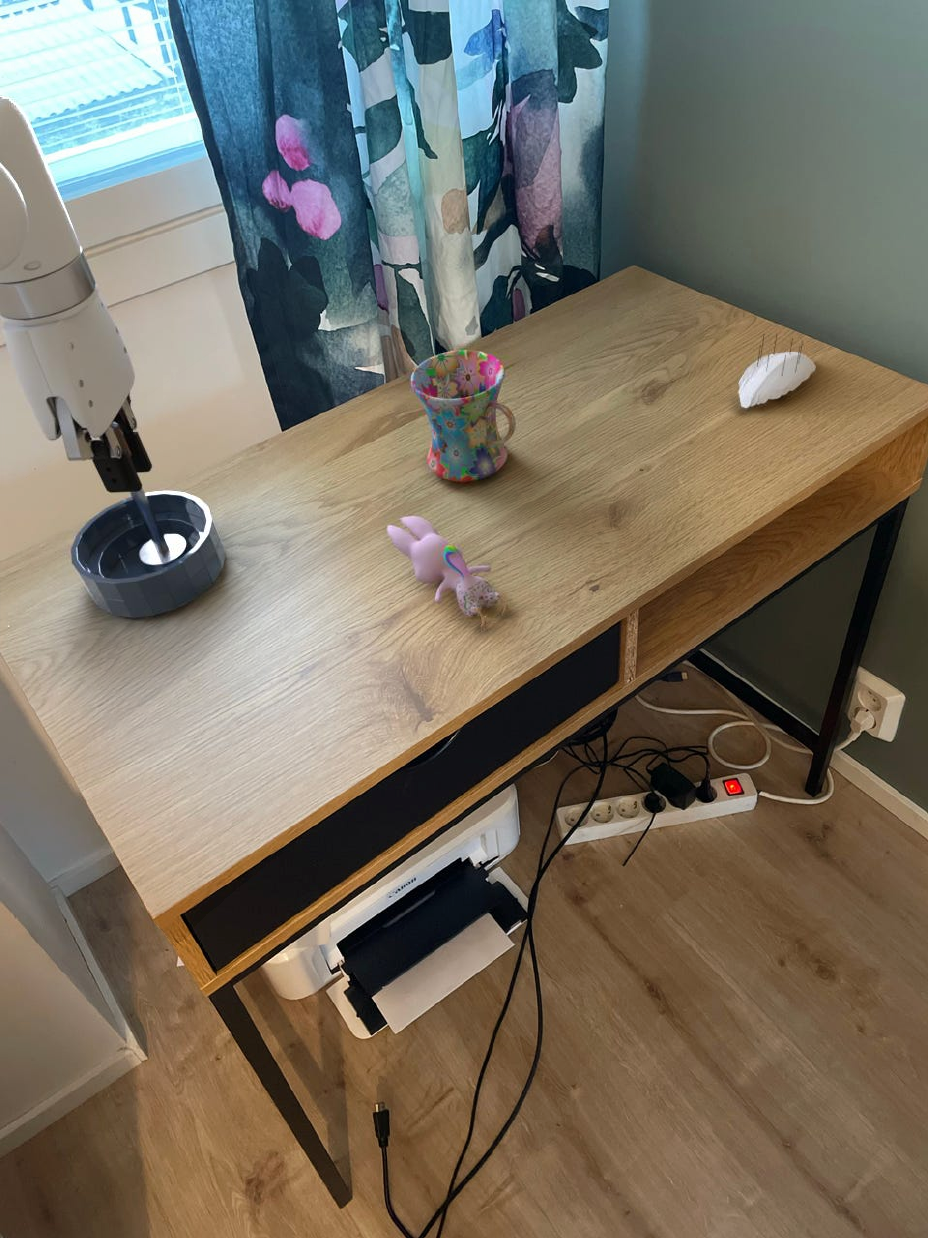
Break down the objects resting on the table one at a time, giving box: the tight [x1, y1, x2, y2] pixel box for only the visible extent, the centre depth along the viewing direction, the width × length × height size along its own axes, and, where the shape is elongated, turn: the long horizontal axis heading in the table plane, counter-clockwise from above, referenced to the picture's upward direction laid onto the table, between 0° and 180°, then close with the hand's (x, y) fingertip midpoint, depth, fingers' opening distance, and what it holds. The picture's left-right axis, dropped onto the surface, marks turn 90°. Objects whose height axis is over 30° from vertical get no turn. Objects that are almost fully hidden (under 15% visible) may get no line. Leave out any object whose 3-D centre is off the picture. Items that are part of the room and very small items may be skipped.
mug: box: [410, 349, 517, 483], centre depth 91 cm, size 12×9×11 cm
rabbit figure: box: [386, 515, 512, 631], centre depth 80 cm, size 6×6×15 cm
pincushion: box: [737, 334, 817, 409], centre depth 97 cm, size 12×6×6 cm, turn 133°
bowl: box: [70, 490, 227, 619], centre depth 86 cm, size 13×13×5 cm
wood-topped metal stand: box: [98, 422, 190, 573], centre depth 82 cm, size 5×5×15 cm
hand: (130, 479), depth 81 cm, fingers closed on wood-topped metal stand
